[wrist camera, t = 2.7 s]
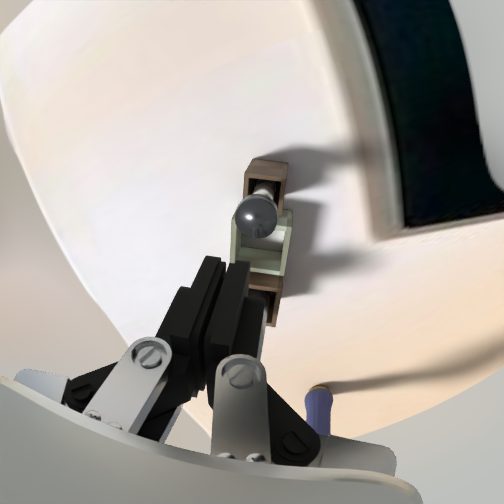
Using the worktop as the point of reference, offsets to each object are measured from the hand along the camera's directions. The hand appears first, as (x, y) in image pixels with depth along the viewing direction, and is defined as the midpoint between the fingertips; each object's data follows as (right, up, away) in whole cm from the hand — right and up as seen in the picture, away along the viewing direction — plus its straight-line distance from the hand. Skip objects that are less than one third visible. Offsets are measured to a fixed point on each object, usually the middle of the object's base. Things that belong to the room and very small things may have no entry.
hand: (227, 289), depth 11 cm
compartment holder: (+2, +3, +15) cm, 15 cm away
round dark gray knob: (+2, +6, +10) cm, 12 cm away
